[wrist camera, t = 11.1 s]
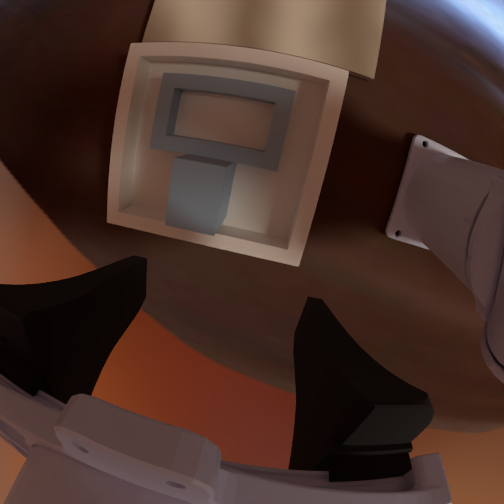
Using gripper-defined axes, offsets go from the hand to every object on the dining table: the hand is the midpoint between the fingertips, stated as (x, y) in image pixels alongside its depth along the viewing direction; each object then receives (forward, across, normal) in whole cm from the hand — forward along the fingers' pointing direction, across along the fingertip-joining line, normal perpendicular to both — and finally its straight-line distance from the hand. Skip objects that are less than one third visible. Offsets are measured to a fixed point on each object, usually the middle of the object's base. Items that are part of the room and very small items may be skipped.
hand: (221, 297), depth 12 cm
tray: (+9, +3, -6) cm, 11 cm away
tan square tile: (+9, +2, -20) cm, 22 cm away
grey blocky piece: (+9, +3, -5) cm, 11 cm away
